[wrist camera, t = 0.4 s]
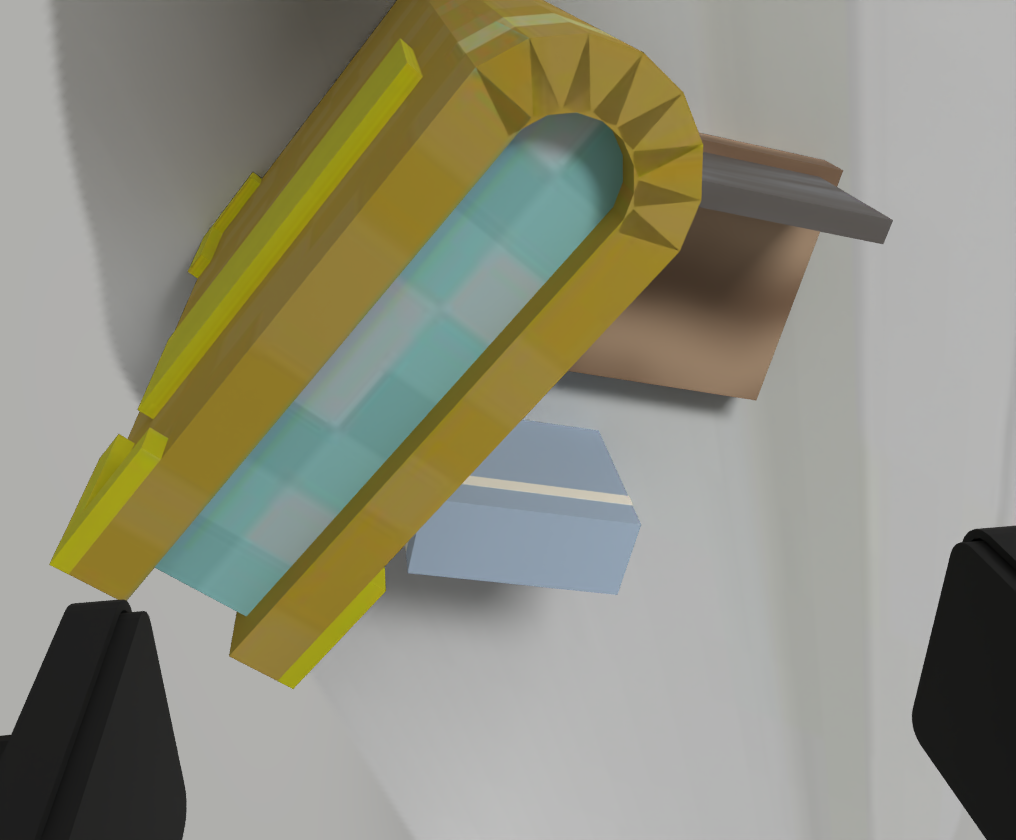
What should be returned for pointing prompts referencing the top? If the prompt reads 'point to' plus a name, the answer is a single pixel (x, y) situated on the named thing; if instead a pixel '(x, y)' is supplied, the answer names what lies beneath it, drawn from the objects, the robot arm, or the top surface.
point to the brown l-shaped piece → (732, 273)
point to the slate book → (534, 516)
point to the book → (389, 313)
